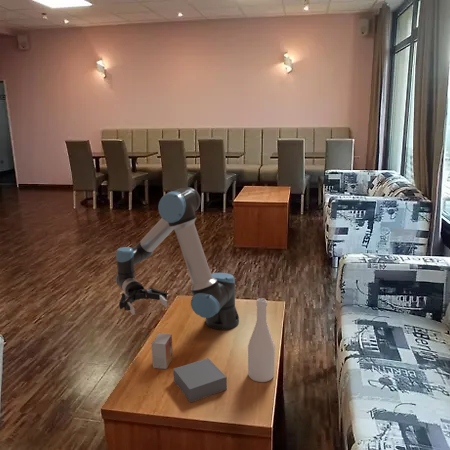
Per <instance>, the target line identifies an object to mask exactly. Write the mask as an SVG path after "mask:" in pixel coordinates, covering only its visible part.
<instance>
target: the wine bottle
mask: <svg viewBox="0 0 450 450" xmlns="http://www.w3.org/2000/svg"><path fill="white" fill-rule="evenodd" d="M255 304H256V321H255V325H254V327H253V331H252V334H251V336H250V339H249V342H248V345H247V374H248V377H249V378H250V379H251V380H253V381H254V382H257V383H265V382H269V381H271V380H272V379H273V378H274V376H275V359H276V358H275V357H276V356H275V354H276V352H275V349H276V347H275V343H274V340H273V337H272V334H271V332H270V329H269V325H268V322H267V306H268V301H267V299H266V298H263V297H260V298H257V299H256V303H255Z"/></svg>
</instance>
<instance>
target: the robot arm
mask: <svg viewBox="0 0 450 450" xmlns="http://www.w3.org/2000/svg"><path fill="white" fill-rule="evenodd" d="M200 205H201V196H200V193H199V192H198V190H196V188H195V189H194V188H193V187H189V186H183V187H180V188H178V189H175V190H171V191H169V192H167V193H166V194H164V195H162V197H161V198H160V199H159V202H158V208H157V209H158V213H159V216H160V217H161V218H160V219H159V220H158V222H156V224H154V226H153V227H152V228H151V229H149V231H148V232H147V233H146V234H145V235H144V237H142V239H141V240H140V241H139V242H138V243H137V244H136V245H135V246H133V247H130V246H124V247H123V246H122V247H119V248H117V250H116V253H115V256H116V259H115V260H116V268H117V274H116V276H115V282H116V284H117V286H118V287H119V288H120V290H122V291H123V293H121V298H120V300H119V302H118V303H119V305H118V306H119V309H120V310H123V308H124V311H129V312H130V313H131V314H132V316H134V315H136V314H135V313H136V312H135V310H136V309H135V307H134V306H133V305H132V304H133V303H135V302H136V301H139V300H142V299H144V300H149V299H152V300H157V301H159V303H161V304H162V305H163V306H164V308H168V300H167V299H168V293H167V292H165V291H162V290H158V289H155V288H153V287H149V289H145V287H144V286H143V285H142V284H141V283H140V281H138V280H137V279H136V276H135V266H136V265H137V264H139V263H141V262H143V261H144V260H146V259H149V257H151V256H152V255H153V252H154V251H155V250H156V249H157V248H158V246H160V244H162V242H163V241H164V240H165V239H166V238H167V237H168V236H169V235H170V234H171V233H172V232H173V231H174V233H175V235H176V238H177V241H178V244H179V246H180V250H181V253H182V256H183V259H184V262H185V265H186V268H187V271H188V273H189V277H190V279H191V282H192V283H191V284H192V285H190V292H191V295H192V297H191V300H190V307H191V309H192V312H194V313H195V314H196V315H197V316H199V317H201V318H204V319H205V324H206V325H207V327H208V328H211V329H214V330H219V331H221V330H232V329H233V328H236V327H237V326H238V325H239V323H240V317H239V316H240V315H239V313H238V311H237V307H236V282H235V281H236V279H235V276H234V275H233V274H231V273H227V272H214V273H212V272H211V269H210V267H209V264H208V260H207V257H206V254H205V252H204V248H203V246H202V241H201V239H200V236H199V233H198V230H197V226H196V225H195V223H196V220H197V216H196V211H197V210H199V207H200Z"/></svg>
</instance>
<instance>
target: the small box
mask: <svg viewBox="0 0 450 450" xmlns="http://www.w3.org/2000/svg"><path fill="white" fill-rule="evenodd" d="M151 356H152V357H151V359H152V368H154V369H161V370H162V369H163V370H167V369H168V367H169V366H170V364H171V362H172V360H173V359H174V355H173V334H172V333H171V334H170V333H161V332H160V333H157V335H156V336H155V338H154V339H153V341H152V342H151Z"/></svg>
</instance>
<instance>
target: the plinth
mask: <svg viewBox="0 0 450 450" xmlns="http://www.w3.org/2000/svg"><path fill="white" fill-rule="evenodd" d="M172 370H173V371H172V372H173V382H174V384H176V387H178V388H179V390H180V391H181V393H183V395H184V396H185V398H186V399H187V400H188V402H189V403H193V402H195V401H199V400H201V399H204V398H207V397H210V396H212V395H215V394H218V393H222V392H224V391H227V389H228V388H227V387H228V386H227V384H228V382H227V381H228V380H227V376H226V375H225V374H224V372H223V371H221V369H220V368H219V367H218V366H216V364H215V363H214V362H213V361H212V360H211V359H210V358H209V357H206V358H204V359H201V360H197V361H195V362H190V363H188V364H184V365H181V366H178V367H174V368H173V369H172Z"/></svg>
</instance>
